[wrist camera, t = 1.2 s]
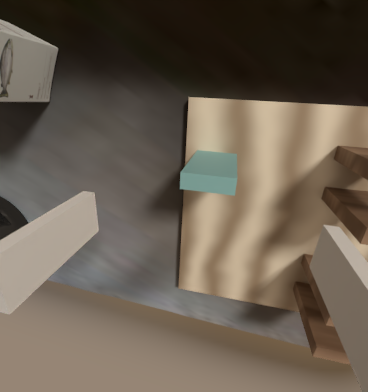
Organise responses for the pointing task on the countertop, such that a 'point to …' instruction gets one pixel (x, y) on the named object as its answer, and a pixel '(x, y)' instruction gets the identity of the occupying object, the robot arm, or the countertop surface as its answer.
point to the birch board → (265, 195)
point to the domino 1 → (210, 173)
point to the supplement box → (25, 65)
